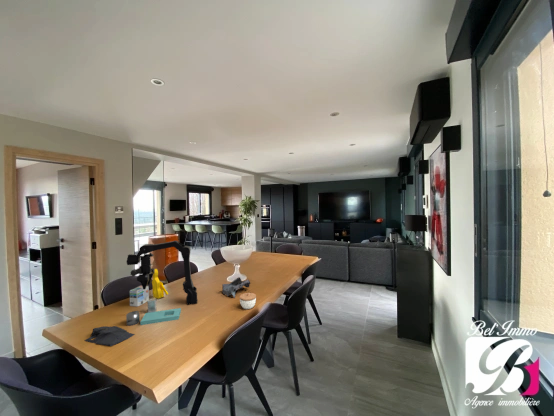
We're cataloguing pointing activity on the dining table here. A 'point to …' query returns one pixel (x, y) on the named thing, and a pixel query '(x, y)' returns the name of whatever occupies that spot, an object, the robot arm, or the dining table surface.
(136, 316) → the round bit
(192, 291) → the robot arm
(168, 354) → the dining table surface
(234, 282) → the dark grey angular piece
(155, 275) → the figure statuette
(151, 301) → the square bit
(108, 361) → the dining table surface
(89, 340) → the dark slate chunk
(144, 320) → the bore block
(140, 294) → the light bulb box
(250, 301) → the lidded jar
